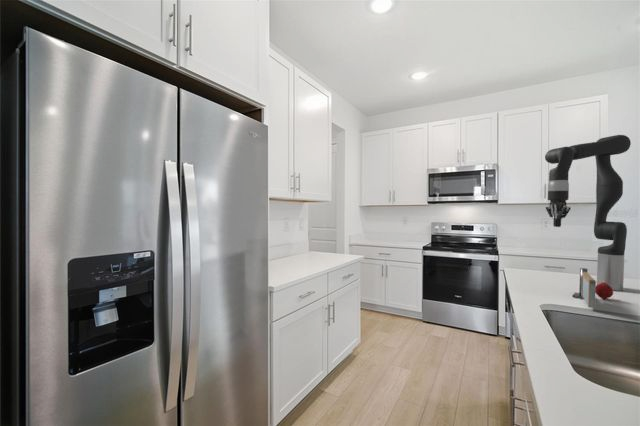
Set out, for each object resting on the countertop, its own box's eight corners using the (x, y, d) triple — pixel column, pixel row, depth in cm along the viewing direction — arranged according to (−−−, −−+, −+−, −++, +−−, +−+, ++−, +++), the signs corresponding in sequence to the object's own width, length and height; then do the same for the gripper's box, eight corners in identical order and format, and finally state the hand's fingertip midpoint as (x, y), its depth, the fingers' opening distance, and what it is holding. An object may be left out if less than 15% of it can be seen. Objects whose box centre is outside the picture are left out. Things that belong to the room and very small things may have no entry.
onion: (616, 302, 119) (617, 283, 119) (600, 301, 121) (601, 282, 120) (605, 297, 125) (606, 279, 125) (590, 296, 126) (591, 279, 126)
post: (575, 294, 129) (576, 266, 129) (593, 297, 125) (594, 268, 124) (572, 297, 125) (573, 268, 125) (591, 300, 121) (592, 270, 120)
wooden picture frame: (580, 295, 124) (581, 271, 124) (586, 296, 123) (587, 272, 123) (588, 307, 109) (589, 280, 109) (594, 308, 108) (595, 281, 108)
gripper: (578, 189, 126) (577, 228, 126) (556, 191, 139) (555, 225, 139) (560, 189, 126) (559, 227, 127) (540, 191, 140) (539, 225, 140)
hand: (557, 226), depth 133 cm, fingers closed
